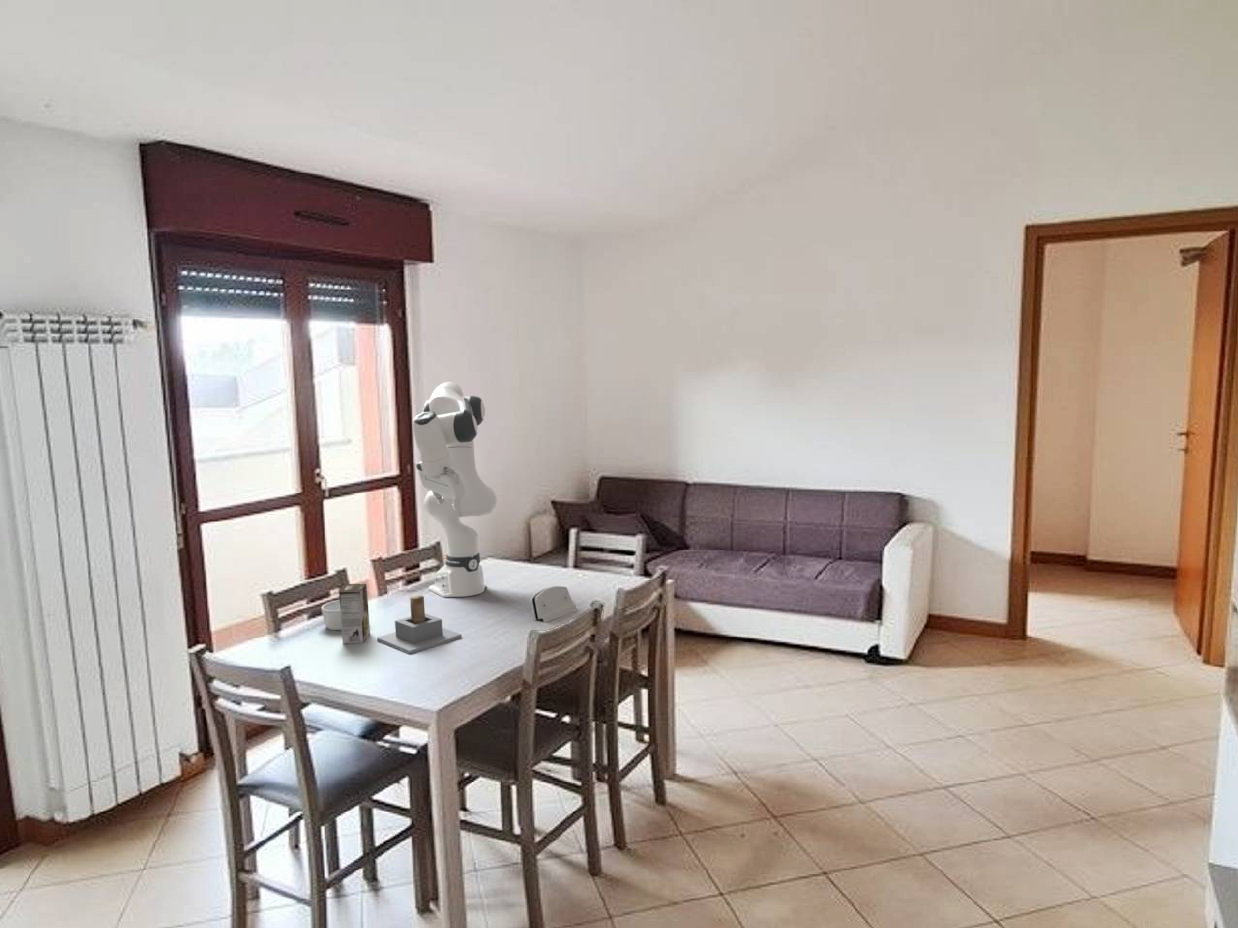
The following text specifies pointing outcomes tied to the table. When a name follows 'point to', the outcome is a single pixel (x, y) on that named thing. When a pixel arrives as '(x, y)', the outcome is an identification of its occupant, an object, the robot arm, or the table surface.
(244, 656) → the table surface
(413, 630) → the socket block
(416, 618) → the pin
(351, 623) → the coffee box
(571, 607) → the hinge
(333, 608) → the ramekin
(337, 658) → the table surface
